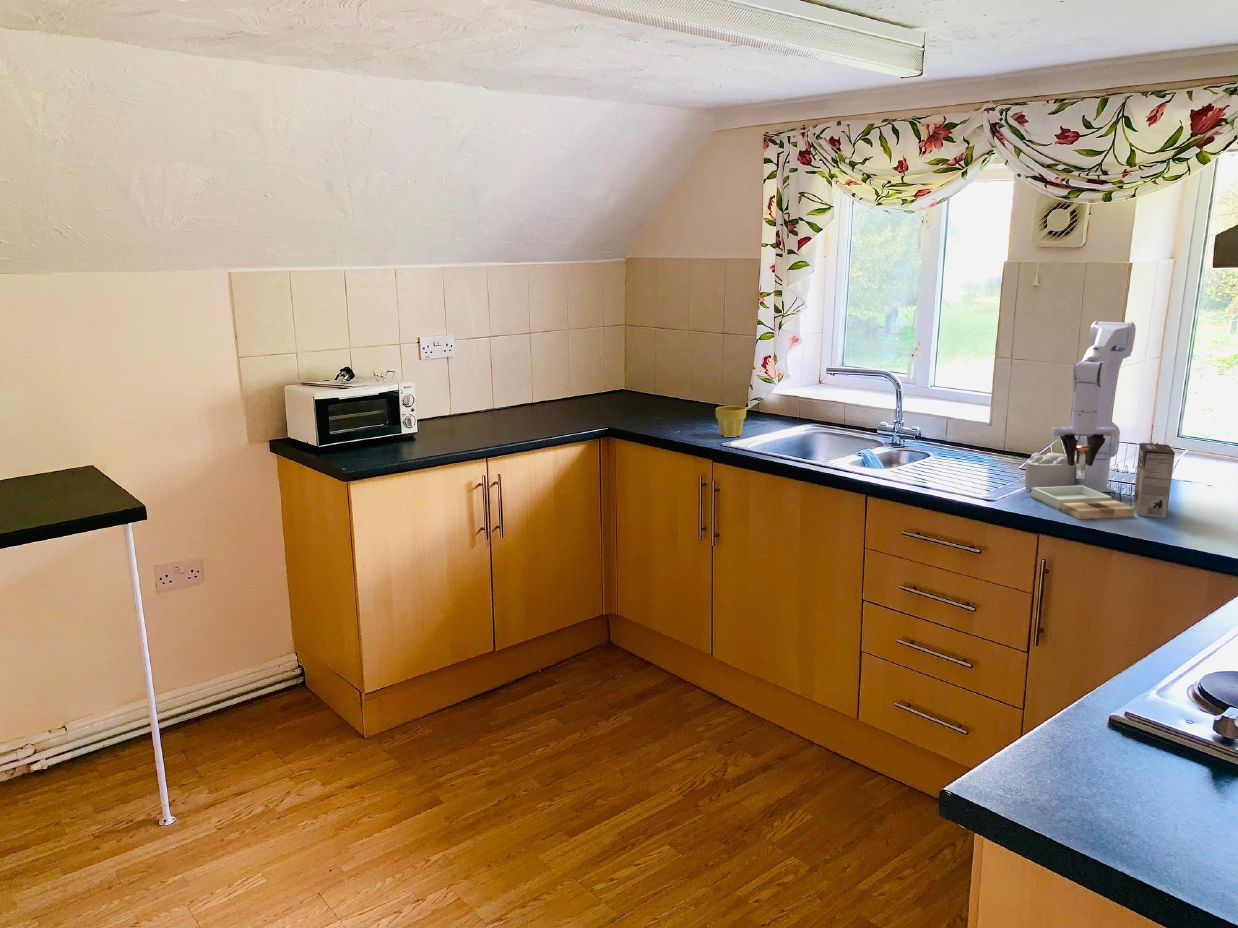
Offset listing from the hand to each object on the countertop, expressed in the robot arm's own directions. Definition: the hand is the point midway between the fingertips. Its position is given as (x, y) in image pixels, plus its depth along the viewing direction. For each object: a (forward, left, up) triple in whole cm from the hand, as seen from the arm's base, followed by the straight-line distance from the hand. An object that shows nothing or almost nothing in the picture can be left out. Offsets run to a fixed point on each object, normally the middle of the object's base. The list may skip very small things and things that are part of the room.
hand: (1079, 464), depth 233 cm
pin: (0, 0, -3) cm, 3 cm away
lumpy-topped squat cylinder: (-17, +3, -10) cm, 20 cm away
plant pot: (-100, -63, -10) cm, 119 cm away
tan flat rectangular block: (+9, 0, -10) cm, 13 cm away
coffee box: (+10, +13, -10) cm, 19 cm away
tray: (-2, 0, -10) cm, 10 cm away
